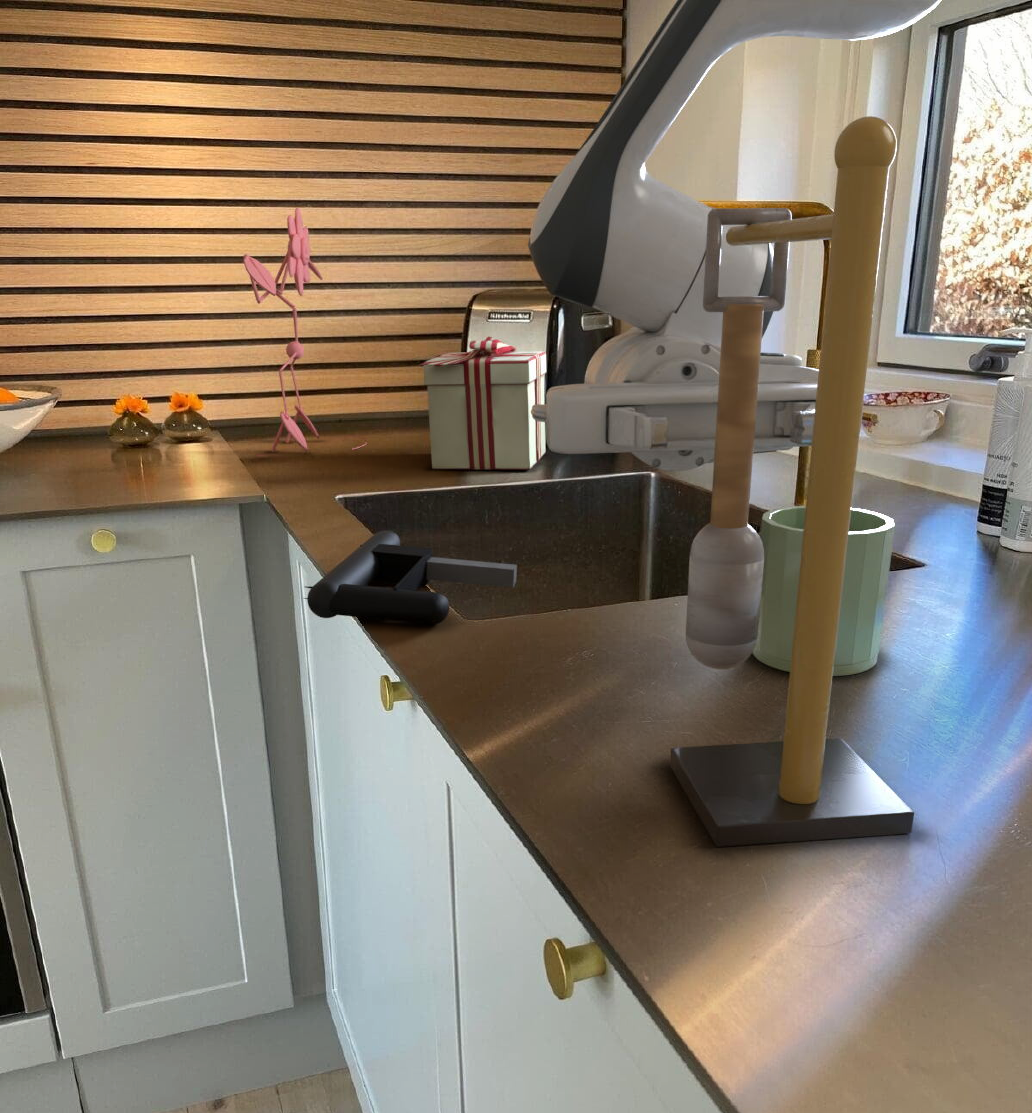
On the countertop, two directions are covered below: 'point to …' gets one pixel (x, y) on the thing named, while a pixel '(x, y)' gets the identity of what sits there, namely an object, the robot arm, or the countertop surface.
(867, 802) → the stand
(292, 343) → the figurine
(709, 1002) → the countertop surface
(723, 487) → the square loop wand
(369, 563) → the black frame with bar
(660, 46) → the robot arm
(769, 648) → the crock
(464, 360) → the gift box
